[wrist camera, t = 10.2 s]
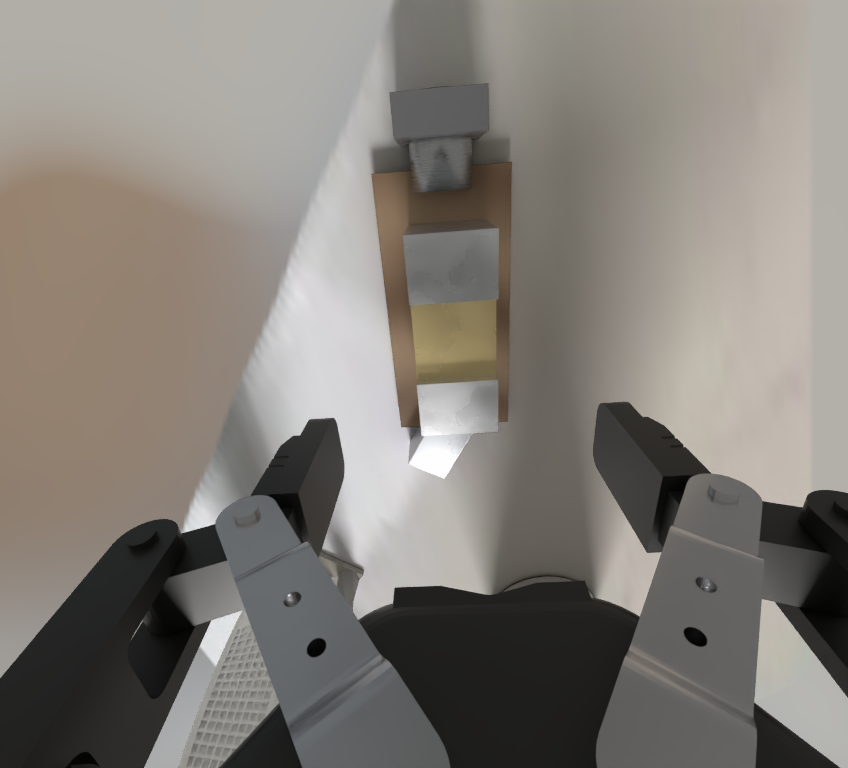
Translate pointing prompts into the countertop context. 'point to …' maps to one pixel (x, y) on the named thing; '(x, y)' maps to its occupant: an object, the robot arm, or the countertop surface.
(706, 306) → the countertop surface
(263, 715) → the skyscraper
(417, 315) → the gray and yellow block
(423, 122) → the coupling stand
